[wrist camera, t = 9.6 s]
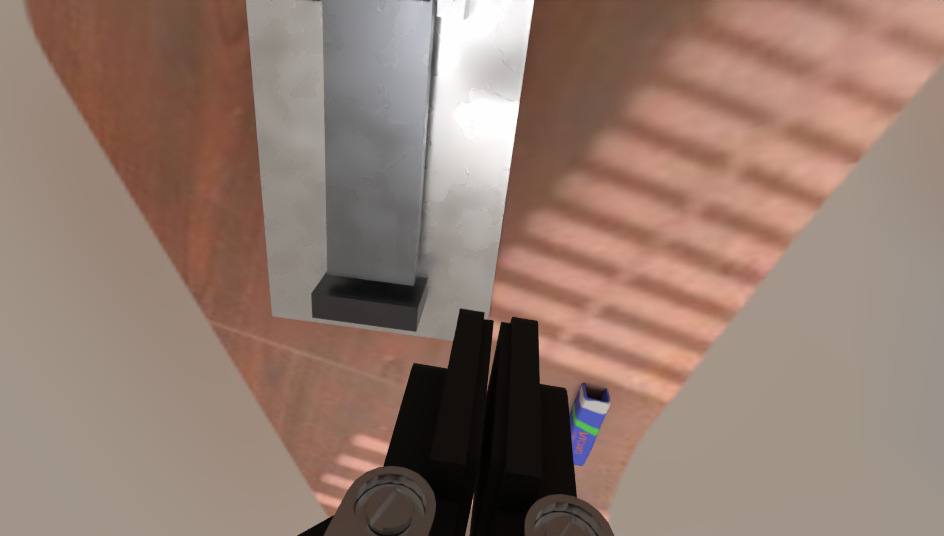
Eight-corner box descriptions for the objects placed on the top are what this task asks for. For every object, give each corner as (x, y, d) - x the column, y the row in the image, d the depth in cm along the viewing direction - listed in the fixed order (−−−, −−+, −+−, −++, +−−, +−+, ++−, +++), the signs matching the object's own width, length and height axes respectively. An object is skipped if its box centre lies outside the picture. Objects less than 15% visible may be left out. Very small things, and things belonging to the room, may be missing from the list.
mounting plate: (253, -79, 26) (198, -94, 22) (539, -46, 26) (543, -53, 21) (281, 304, 36) (247, 347, 32) (486, 332, 36) (481, 380, 31)
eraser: (609, 386, 37) (613, 406, 36) (581, 446, 40) (584, 467, 38) (581, 379, 37) (584, 399, 36) (556, 440, 40) (557, 461, 38)
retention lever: (330, -40, 24) (319, -42, 23) (438, -27, 24) (433, -28, 23) (333, 265, 32) (325, 276, 30) (417, 276, 31) (413, 287, 30)
